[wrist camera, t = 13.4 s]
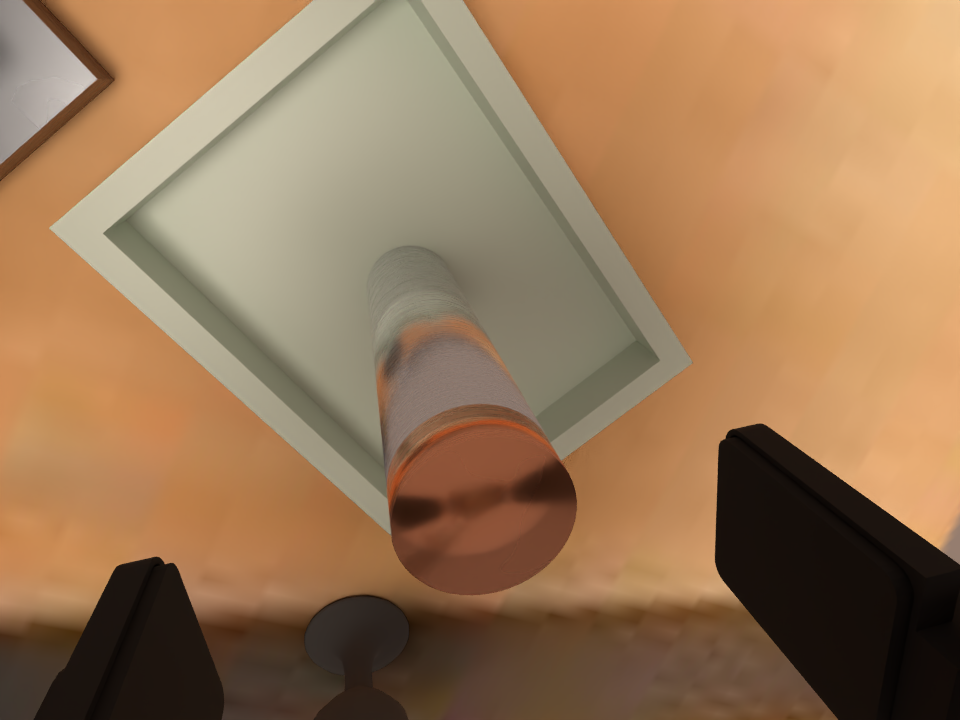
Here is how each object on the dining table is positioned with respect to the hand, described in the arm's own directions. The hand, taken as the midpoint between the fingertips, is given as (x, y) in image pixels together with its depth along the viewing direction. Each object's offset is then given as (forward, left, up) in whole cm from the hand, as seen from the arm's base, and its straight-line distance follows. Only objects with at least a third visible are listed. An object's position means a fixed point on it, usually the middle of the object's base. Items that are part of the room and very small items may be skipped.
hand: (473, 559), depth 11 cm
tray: (0, -1, -15) cm, 15 cm away
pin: (0, -1, -14) cm, 14 cm away
